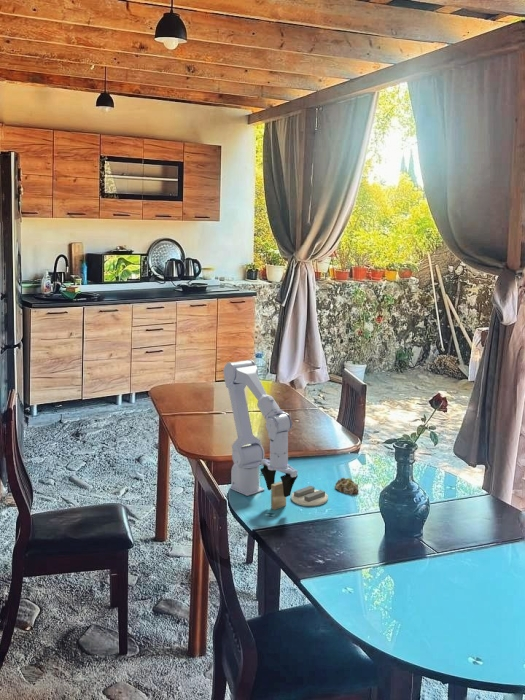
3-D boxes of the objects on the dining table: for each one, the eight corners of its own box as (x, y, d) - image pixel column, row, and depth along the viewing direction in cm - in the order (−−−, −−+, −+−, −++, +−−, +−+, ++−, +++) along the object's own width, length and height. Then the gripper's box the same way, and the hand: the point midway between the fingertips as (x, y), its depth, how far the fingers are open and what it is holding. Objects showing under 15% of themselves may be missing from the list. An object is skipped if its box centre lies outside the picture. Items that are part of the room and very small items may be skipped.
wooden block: (271, 508, 232) (271, 484, 230) (282, 504, 235) (282, 480, 233) (274, 509, 231) (274, 485, 229) (285, 505, 234) (286, 482, 232)
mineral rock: (328, 479, 250) (348, 471, 252) (331, 490, 252) (351, 481, 254) (343, 492, 240) (364, 482, 243) (345, 503, 242) (366, 493, 244)
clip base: (283, 498, 240) (283, 491, 239) (309, 488, 247) (309, 482, 247) (309, 509, 231) (309, 501, 230) (335, 499, 239) (335, 492, 238)
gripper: (254, 448, 232) (254, 489, 234) (285, 460, 221) (285, 502, 224) (270, 444, 236) (270, 483, 239) (302, 455, 226) (301, 496, 228)
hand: (278, 492), depth 232 cm, fingers open, 7 cm apart
